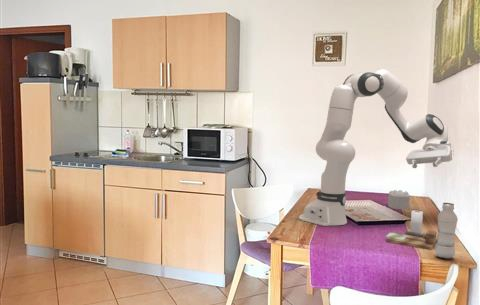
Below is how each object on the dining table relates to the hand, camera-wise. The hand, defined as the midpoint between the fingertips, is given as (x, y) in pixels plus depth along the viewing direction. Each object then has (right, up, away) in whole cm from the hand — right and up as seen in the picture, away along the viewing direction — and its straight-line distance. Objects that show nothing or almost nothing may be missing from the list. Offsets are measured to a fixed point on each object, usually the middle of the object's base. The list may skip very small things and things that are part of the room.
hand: (424, 166), depth 196 cm
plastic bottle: (-9, -32, -38) cm, 51 cm away
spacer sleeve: (-8, -29, -10) cm, 32 cm away
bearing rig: (-14, -30, -20) cm, 39 cm away
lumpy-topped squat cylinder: (+4, -24, +42) cm, 49 cm away
